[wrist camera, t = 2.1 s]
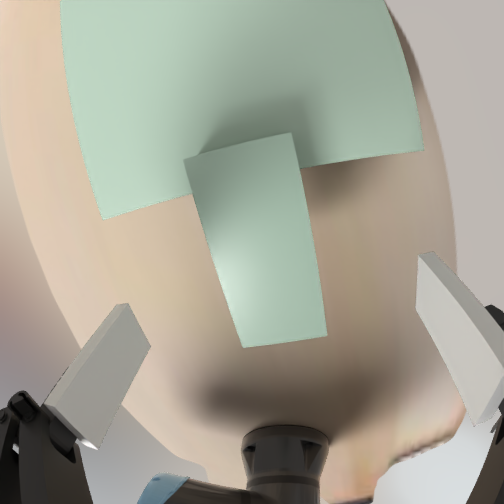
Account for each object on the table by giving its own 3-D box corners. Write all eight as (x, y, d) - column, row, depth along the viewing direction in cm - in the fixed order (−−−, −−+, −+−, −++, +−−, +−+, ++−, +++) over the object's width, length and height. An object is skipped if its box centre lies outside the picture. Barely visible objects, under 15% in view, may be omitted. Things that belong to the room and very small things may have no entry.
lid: (413, 269, 19) (443, 308, 14) (163, 312, 22) (138, 353, 18) (330, -67, 9) (339, -105, 4) (79, 9, 13) (39, -6, 8)
